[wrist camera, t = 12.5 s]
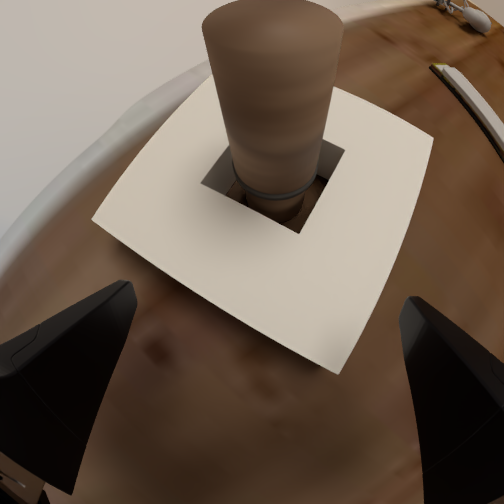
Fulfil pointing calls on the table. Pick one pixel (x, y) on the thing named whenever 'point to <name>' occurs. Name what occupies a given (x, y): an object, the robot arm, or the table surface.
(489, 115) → the harmonica
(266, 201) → the walnut peg
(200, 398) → the table surface
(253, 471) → the table surface
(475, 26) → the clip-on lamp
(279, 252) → the white board
